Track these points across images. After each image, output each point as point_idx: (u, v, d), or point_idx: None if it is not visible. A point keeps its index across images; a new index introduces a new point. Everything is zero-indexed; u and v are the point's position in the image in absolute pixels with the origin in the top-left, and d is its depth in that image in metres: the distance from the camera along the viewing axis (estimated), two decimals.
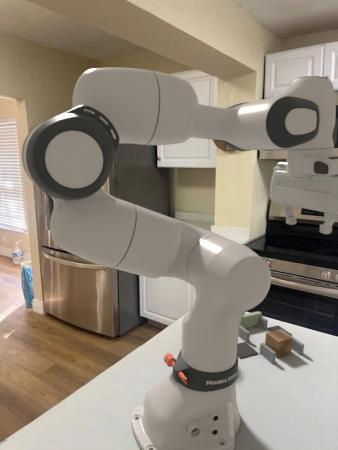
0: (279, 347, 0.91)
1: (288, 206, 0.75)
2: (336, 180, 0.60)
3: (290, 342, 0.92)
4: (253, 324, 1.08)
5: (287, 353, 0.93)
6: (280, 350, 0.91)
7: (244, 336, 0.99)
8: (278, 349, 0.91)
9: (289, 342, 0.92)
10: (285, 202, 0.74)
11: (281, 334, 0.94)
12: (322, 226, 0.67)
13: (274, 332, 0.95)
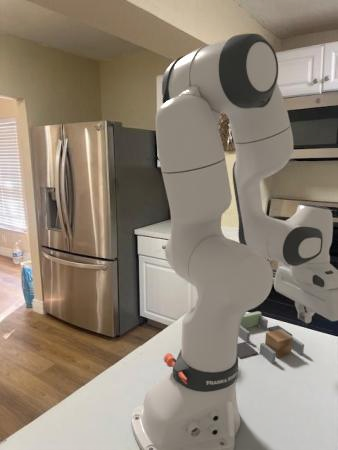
0: (279, 347, 0.91)
1: (300, 304, 0.86)
2: (330, 294, 0.74)
3: (290, 341, 0.92)
4: (253, 324, 1.08)
5: (287, 353, 0.93)
6: (280, 350, 0.91)
7: (244, 336, 0.99)
8: (278, 349, 0.91)
9: (289, 342, 0.92)
10: (287, 295, 0.88)
11: (281, 334, 0.94)
12: (304, 316, 0.84)
13: (274, 332, 0.95)
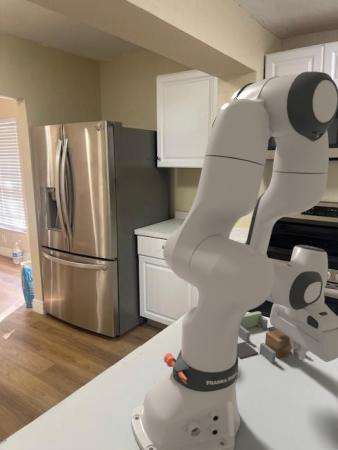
0: (279, 347, 0.91)
1: (295, 340, 0.87)
2: (324, 336, 0.76)
3: None
4: (253, 324, 1.08)
5: (287, 353, 0.93)
6: (280, 350, 0.91)
7: (244, 336, 0.99)
8: (278, 349, 0.91)
9: (289, 342, 0.92)
10: (282, 331, 0.90)
11: (281, 334, 0.94)
12: (298, 353, 0.86)
13: (274, 332, 0.95)
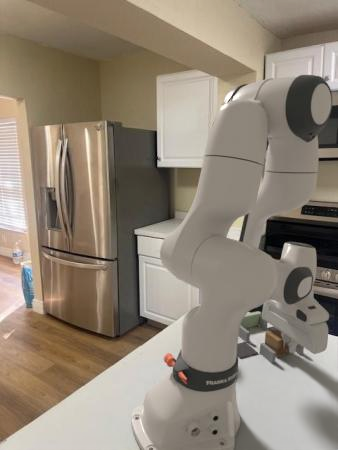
0: (278, 347, 0.91)
1: (286, 334, 0.91)
2: (312, 328, 0.79)
3: (290, 341, 0.93)
4: (253, 324, 1.08)
5: (287, 352, 0.93)
6: (279, 350, 0.92)
7: (244, 336, 0.99)
8: (278, 348, 0.91)
9: None
10: (273, 325, 0.93)
11: None
12: (288, 346, 0.89)
13: (274, 331, 0.95)
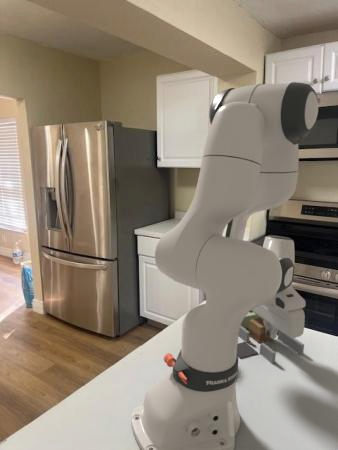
0: (261, 333, 0.98)
1: (268, 321, 0.97)
2: (289, 315, 0.86)
3: None
4: None
5: (269, 339, 1.00)
6: (262, 336, 0.98)
7: (244, 336, 0.99)
8: (260, 334, 0.98)
9: None
10: (256, 313, 1.00)
11: None
12: (270, 332, 0.96)
13: (257, 319, 1.02)
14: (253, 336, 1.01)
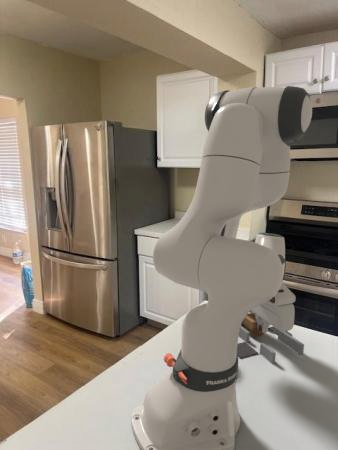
0: (253, 328, 1.01)
1: (259, 316, 1.00)
2: (279, 309, 0.89)
3: None
4: None
5: (261, 333, 1.03)
6: (254, 330, 1.01)
7: (244, 336, 0.99)
8: (252, 329, 1.01)
9: None
10: None
11: None
12: (261, 327, 0.99)
13: (249, 314, 1.05)
14: None
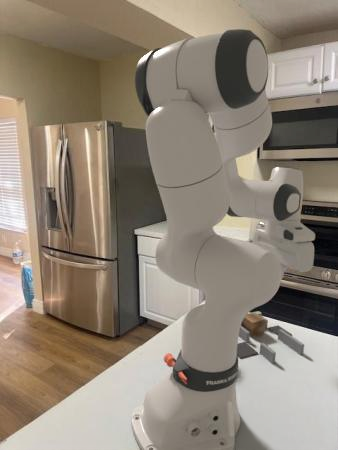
0: (253, 328, 1.01)
1: None
2: (298, 246, 0.82)
3: (263, 323, 1.02)
4: None
5: (260, 333, 1.03)
6: (253, 331, 1.01)
7: (244, 336, 0.99)
8: (252, 329, 1.01)
9: (262, 324, 1.02)
10: None
11: (255, 316, 1.04)
12: None
13: (249, 315, 1.05)
14: None
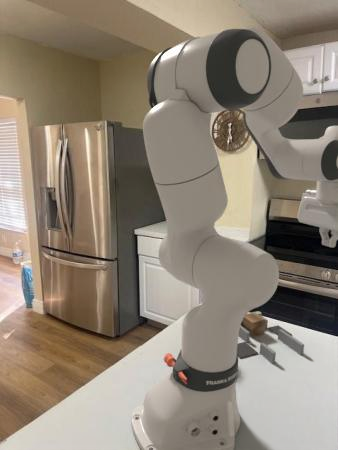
0: (253, 328, 1.01)
1: (325, 229, 0.87)
2: None
3: (263, 323, 1.02)
4: None
5: (260, 333, 1.03)
6: (253, 331, 1.01)
7: (244, 336, 0.99)
8: (252, 329, 1.01)
9: (262, 324, 1.02)
10: (311, 223, 0.90)
11: (255, 316, 1.04)
12: (328, 241, 0.86)
13: (249, 315, 1.05)
14: None
